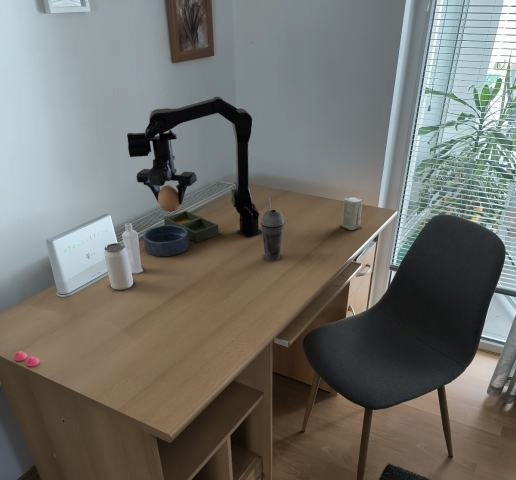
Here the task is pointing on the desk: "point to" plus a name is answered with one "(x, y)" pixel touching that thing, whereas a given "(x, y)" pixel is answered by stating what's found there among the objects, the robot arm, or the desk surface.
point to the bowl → (166, 240)
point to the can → (118, 266)
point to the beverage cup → (272, 233)
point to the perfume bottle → (132, 248)
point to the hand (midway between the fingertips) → (169, 203)
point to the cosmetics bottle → (352, 213)
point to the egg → (168, 198)
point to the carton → (193, 225)
